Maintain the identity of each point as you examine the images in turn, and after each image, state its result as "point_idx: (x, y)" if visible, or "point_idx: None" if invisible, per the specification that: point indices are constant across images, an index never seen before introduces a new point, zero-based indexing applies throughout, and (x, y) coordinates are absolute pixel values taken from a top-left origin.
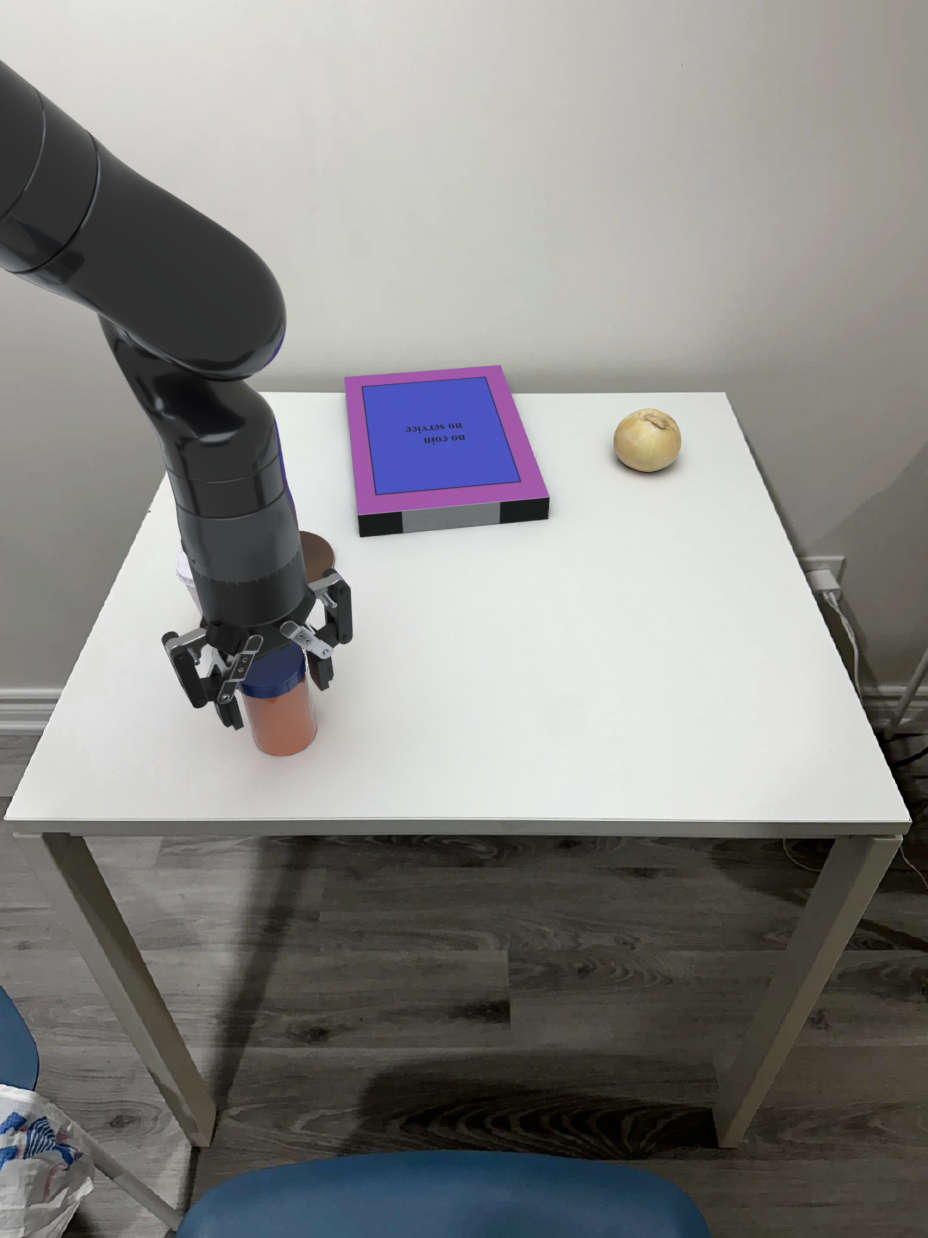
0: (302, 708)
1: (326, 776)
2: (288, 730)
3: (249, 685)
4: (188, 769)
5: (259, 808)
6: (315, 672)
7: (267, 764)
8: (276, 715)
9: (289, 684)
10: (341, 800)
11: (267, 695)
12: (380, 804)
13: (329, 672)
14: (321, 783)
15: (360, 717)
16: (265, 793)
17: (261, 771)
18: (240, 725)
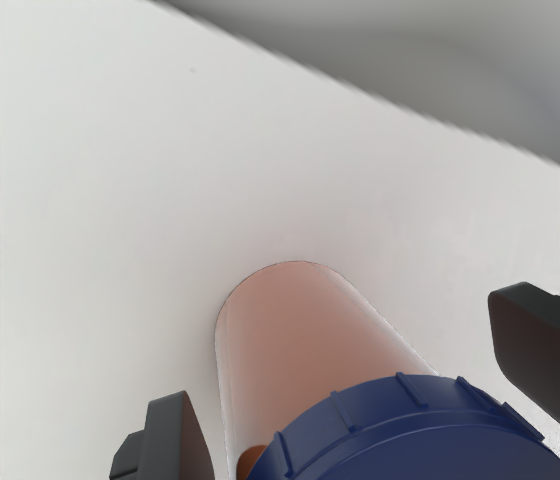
0: (261, 349)
1: (218, 169)
2: (308, 296)
3: (539, 445)
4: (511, 284)
5: (395, 126)
6: (194, 477)
7: (351, 249)
8: (359, 330)
9: (340, 422)
10: (193, 77)
11: (440, 384)
12: (85, 22)
13: (129, 468)
14: (235, 151)
15: (93, 332)
16: (373, 166)
17: (368, 233)
18: (514, 292)
